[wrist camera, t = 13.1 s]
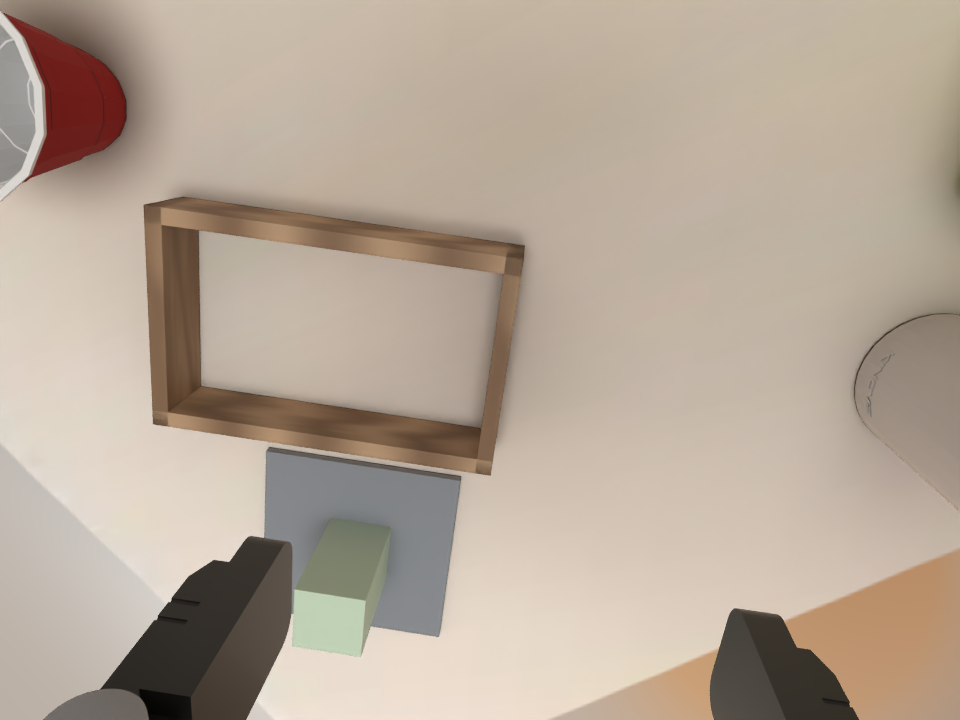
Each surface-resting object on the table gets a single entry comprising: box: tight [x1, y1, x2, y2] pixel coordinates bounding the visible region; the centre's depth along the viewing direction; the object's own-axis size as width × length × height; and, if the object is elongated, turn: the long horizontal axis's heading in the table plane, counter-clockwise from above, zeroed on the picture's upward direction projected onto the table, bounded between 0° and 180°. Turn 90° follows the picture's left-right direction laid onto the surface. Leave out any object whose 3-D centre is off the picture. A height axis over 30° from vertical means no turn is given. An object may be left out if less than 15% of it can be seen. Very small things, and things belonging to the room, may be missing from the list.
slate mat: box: [264, 447, 461, 637], centre depth 50 cm, size 14×14×1 cm
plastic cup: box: [0, 10, 126, 202], centre depth 35 cm, size 11×11×12 cm
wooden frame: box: [144, 197, 525, 476], centre depth 42 cm, size 22×14×4 cm, turn 83°
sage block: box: [292, 518, 391, 657], centre depth 46 cm, size 4×4×8 cm
